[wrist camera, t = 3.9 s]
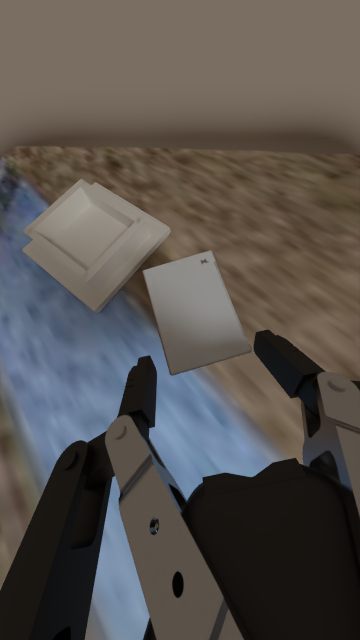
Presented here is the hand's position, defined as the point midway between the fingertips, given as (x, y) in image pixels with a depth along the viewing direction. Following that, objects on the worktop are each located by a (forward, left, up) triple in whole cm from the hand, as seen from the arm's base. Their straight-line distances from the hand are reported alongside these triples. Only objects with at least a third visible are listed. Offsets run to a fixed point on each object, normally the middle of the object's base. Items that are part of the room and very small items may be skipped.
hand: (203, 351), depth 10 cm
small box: (0, +3, -9) cm, 10 cm away
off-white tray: (-12, +21, -9) cm, 26 cm away
